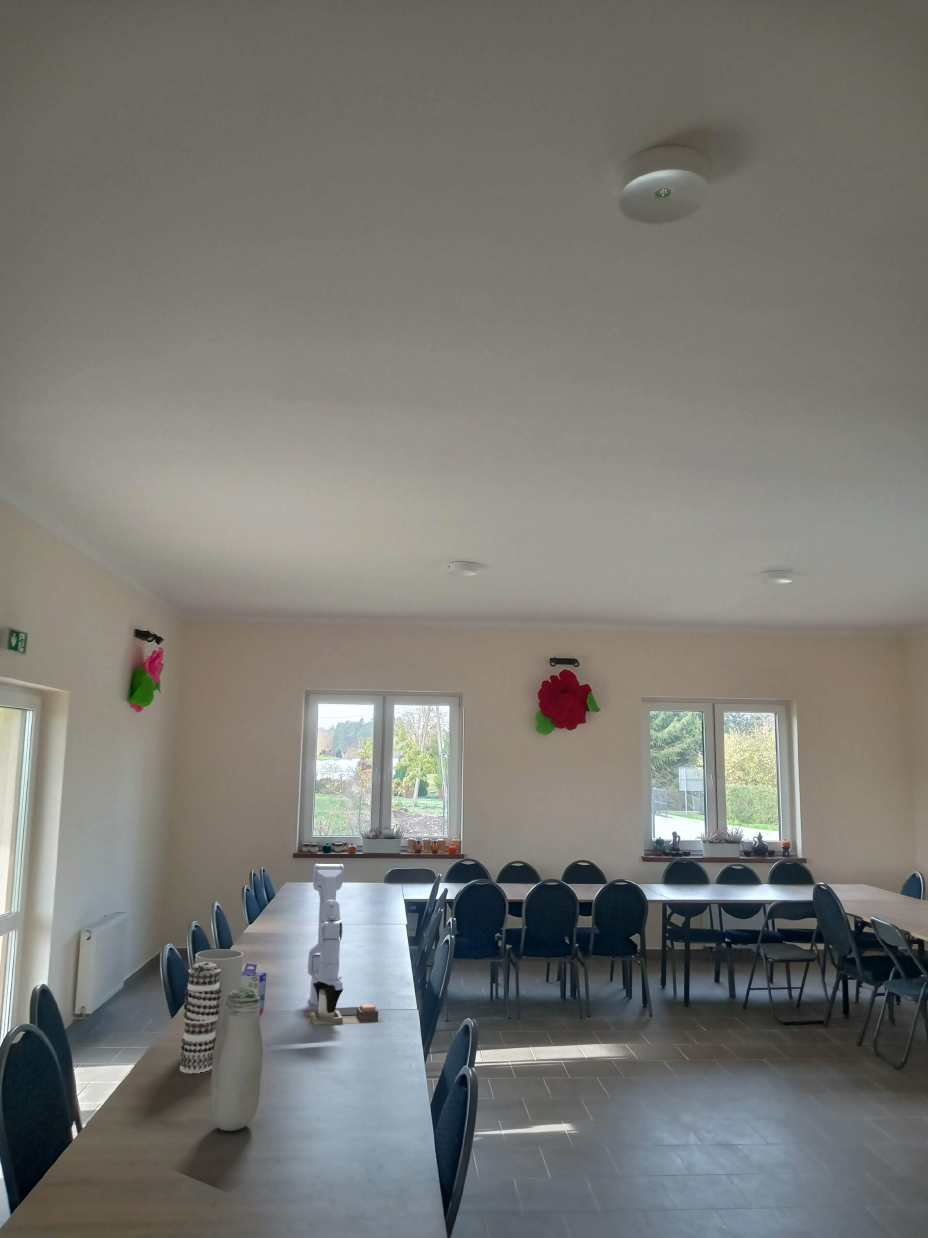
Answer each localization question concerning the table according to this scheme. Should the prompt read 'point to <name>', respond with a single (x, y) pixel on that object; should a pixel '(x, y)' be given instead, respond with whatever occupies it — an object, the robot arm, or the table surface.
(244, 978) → the ink cartridge box
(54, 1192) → the table surface
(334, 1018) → the base board
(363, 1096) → the table surface
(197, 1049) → the decorative candle
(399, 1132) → the table surface
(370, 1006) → the peach square block
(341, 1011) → the rubber mat
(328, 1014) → the cylinder
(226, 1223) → the table surface
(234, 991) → the glass bottle
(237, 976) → the cylinder vase
